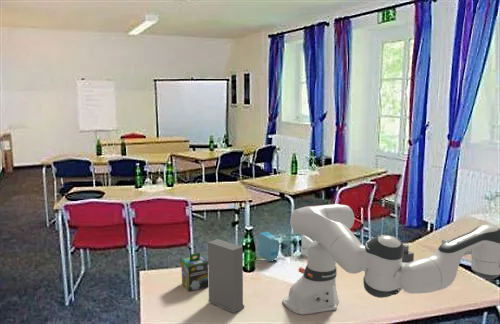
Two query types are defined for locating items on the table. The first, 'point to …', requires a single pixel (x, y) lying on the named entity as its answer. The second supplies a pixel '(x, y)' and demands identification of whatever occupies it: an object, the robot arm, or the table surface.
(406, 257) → the plug
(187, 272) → the chalk box
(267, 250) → the data package
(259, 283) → the table surface
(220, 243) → the tall grey upright box
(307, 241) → the white angled block
